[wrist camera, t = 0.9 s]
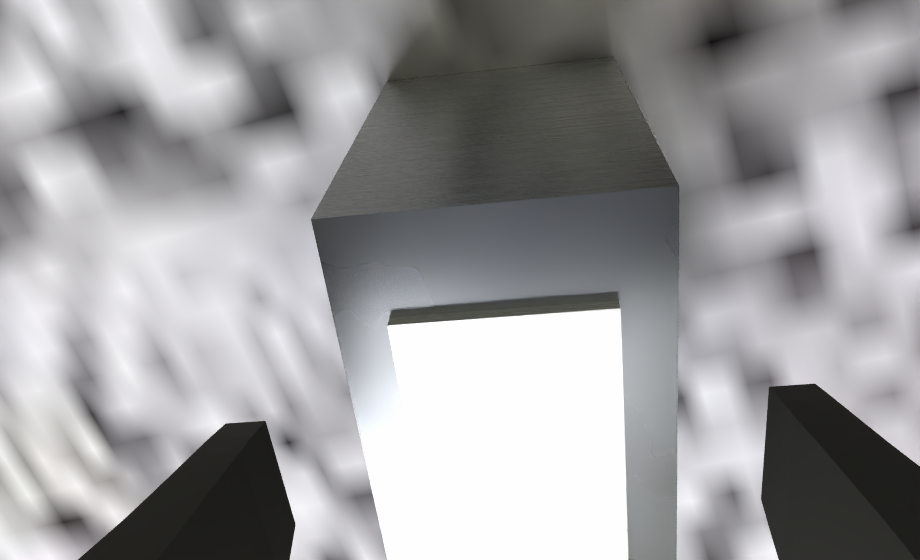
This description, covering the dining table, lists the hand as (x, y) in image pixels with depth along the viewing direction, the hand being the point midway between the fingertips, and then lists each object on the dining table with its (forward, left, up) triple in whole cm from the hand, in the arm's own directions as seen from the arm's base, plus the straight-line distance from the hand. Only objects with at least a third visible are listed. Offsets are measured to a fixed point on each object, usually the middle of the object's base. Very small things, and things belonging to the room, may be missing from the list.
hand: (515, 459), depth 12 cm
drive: (0, 0, -7) cm, 7 cm away
